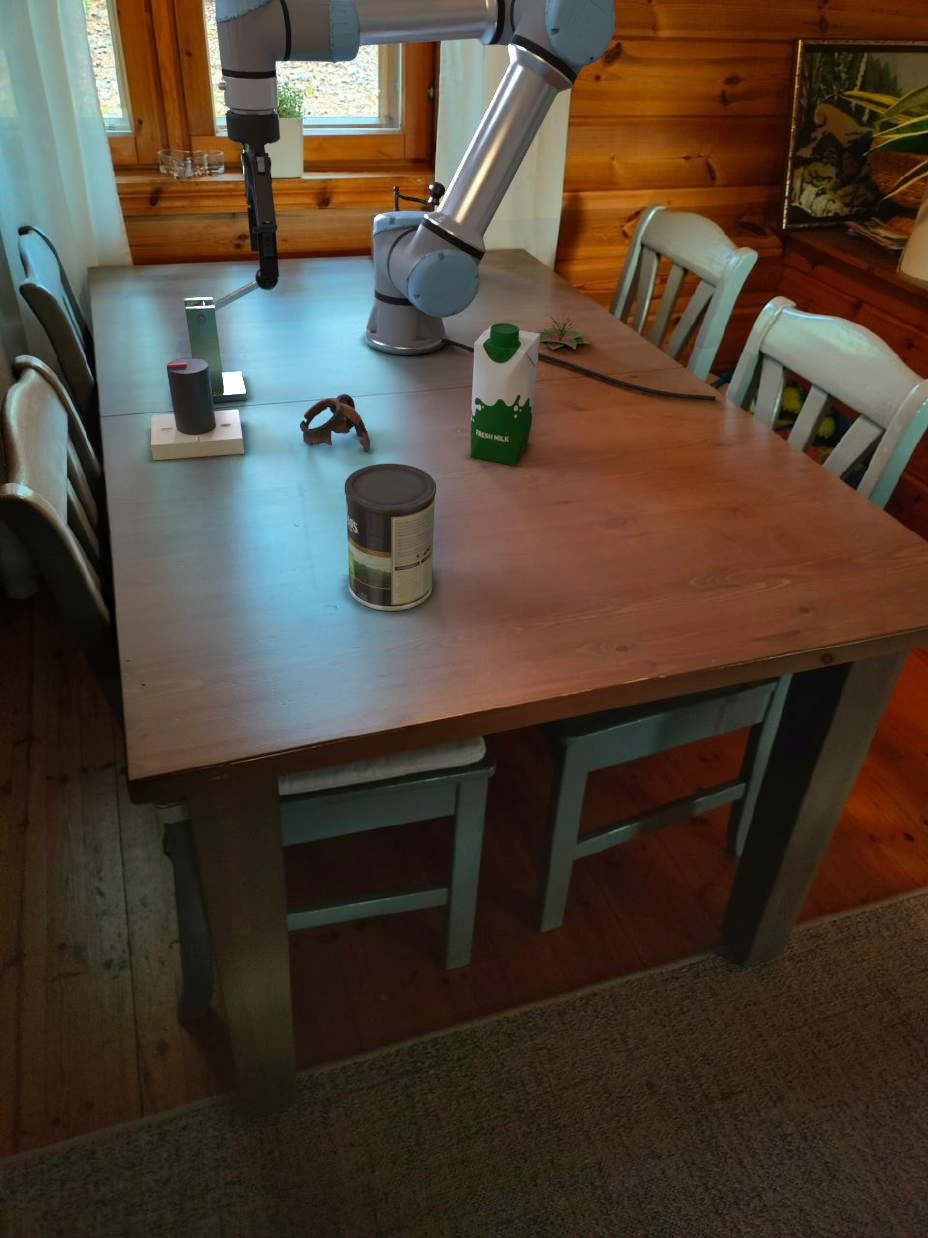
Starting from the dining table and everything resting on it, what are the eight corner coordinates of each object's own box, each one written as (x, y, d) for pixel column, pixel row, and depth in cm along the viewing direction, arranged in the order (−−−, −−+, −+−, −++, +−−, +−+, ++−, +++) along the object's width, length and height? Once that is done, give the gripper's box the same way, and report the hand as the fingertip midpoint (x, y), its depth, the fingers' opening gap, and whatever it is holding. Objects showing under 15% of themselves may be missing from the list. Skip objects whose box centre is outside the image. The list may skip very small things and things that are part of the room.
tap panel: (240, 424, 144) (238, 408, 142) (244, 453, 136) (242, 437, 134) (154, 430, 141) (151, 414, 139) (153, 460, 133) (150, 443, 131)
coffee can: (347, 613, 106) (343, 508, 98) (349, 563, 114) (345, 462, 106) (435, 611, 107) (439, 508, 99) (431, 562, 115) (433, 462, 107)
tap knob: (215, 416, 140) (207, 354, 134) (216, 433, 135) (208, 370, 129) (176, 419, 138) (166, 356, 132) (176, 436, 134) (166, 372, 128)
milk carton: (463, 458, 138) (469, 328, 125) (481, 434, 144) (489, 308, 132) (518, 470, 136) (530, 338, 123) (534, 444, 142) (547, 317, 130)
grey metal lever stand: (241, 378, 157) (231, 291, 148) (246, 399, 151) (237, 310, 142) (175, 382, 155) (161, 295, 146) (177, 405, 148) (163, 314, 139)
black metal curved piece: (380, 270, 208) (379, 185, 197) (370, 256, 216) (368, 173, 205) (445, 267, 212) (448, 183, 201) (433, 253, 220) (434, 172, 209)
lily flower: (602, 348, 176) (605, 325, 173) (548, 356, 171) (551, 332, 169) (569, 327, 184) (572, 304, 181) (518, 334, 180) (519, 311, 177)
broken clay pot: (370, 464, 136) (341, 424, 130) (317, 481, 140) (287, 443, 134) (381, 411, 143) (354, 371, 138) (331, 429, 147) (302, 390, 141)
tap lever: (281, 279, 147) (269, 259, 144) (284, 286, 144) (272, 266, 142) (198, 324, 147) (185, 304, 145) (199, 332, 145) (186, 312, 142)
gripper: (218, 95, 138) (232, 240, 151) (233, 126, 120) (248, 289, 132) (268, 95, 140) (278, 239, 153) (290, 126, 121) (300, 287, 134)
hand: (264, 263), depth 143 cm, fingers open, 13 cm apart
